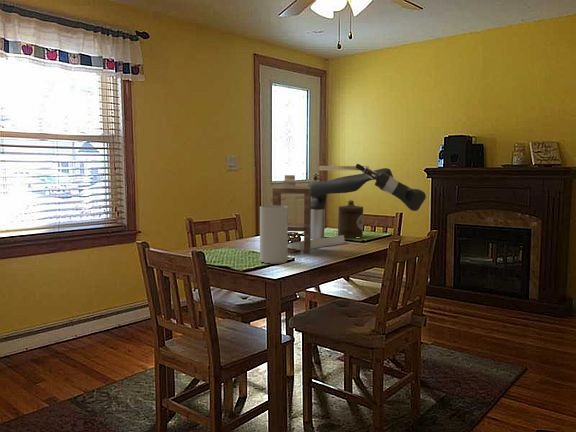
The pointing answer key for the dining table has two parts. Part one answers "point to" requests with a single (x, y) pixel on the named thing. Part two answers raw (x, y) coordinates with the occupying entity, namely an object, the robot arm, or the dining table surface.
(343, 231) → the wooden container
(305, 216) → the walnut rack
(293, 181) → the offcut stack
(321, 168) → the birch slat
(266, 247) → the cylinder vase
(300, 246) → the decorative molding
